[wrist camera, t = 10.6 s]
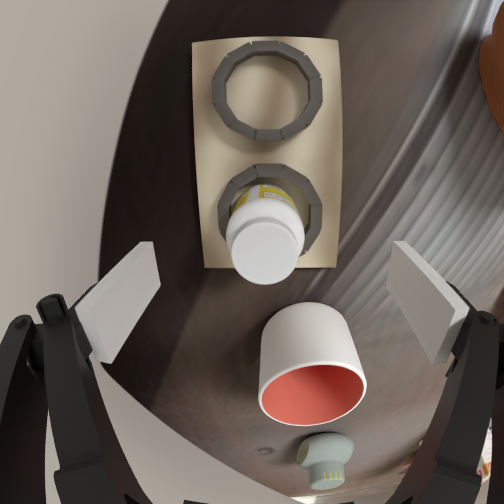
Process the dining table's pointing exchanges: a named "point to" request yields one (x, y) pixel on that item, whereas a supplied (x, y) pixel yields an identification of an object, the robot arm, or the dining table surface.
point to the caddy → (269, 135)
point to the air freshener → (325, 459)
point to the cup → (309, 366)
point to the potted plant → (494, 68)
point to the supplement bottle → (265, 234)
